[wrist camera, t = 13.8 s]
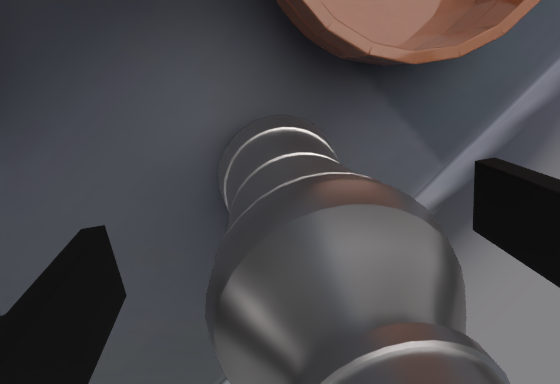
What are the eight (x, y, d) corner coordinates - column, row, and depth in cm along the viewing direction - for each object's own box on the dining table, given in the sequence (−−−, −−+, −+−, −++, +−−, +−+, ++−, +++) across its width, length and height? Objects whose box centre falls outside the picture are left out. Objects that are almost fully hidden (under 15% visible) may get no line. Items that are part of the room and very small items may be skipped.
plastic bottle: (345, 172, 24) (743, 521, 6) (260, 233, 25) (359, 742, 6) (287, 87, 22) (605, 184, 4) (196, 156, 23) (46, 562, 4)
